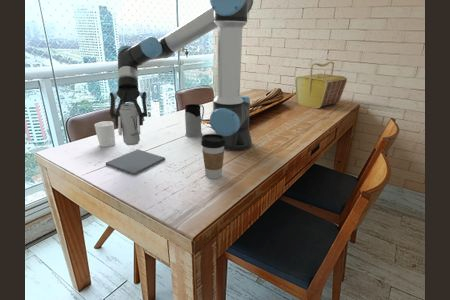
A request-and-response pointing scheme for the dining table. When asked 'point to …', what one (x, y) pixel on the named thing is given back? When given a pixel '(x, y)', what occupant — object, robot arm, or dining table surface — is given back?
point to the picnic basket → (319, 88)
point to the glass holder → (193, 120)
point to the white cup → (105, 133)
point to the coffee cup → (213, 154)
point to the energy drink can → (129, 124)
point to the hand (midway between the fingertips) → (129, 133)
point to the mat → (135, 161)
